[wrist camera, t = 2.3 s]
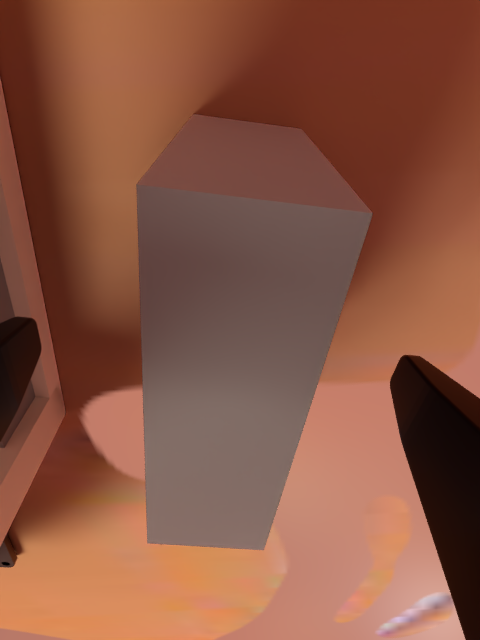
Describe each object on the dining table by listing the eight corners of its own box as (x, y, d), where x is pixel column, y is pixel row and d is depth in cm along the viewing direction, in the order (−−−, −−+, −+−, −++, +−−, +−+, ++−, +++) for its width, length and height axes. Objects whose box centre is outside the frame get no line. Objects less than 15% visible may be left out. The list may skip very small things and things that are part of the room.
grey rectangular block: (256, 369, 16) (265, 550, 10) (180, 362, 16) (145, 543, 10) (302, 128, 11) (376, 214, 5) (191, 113, 10) (132, 183, 5)
